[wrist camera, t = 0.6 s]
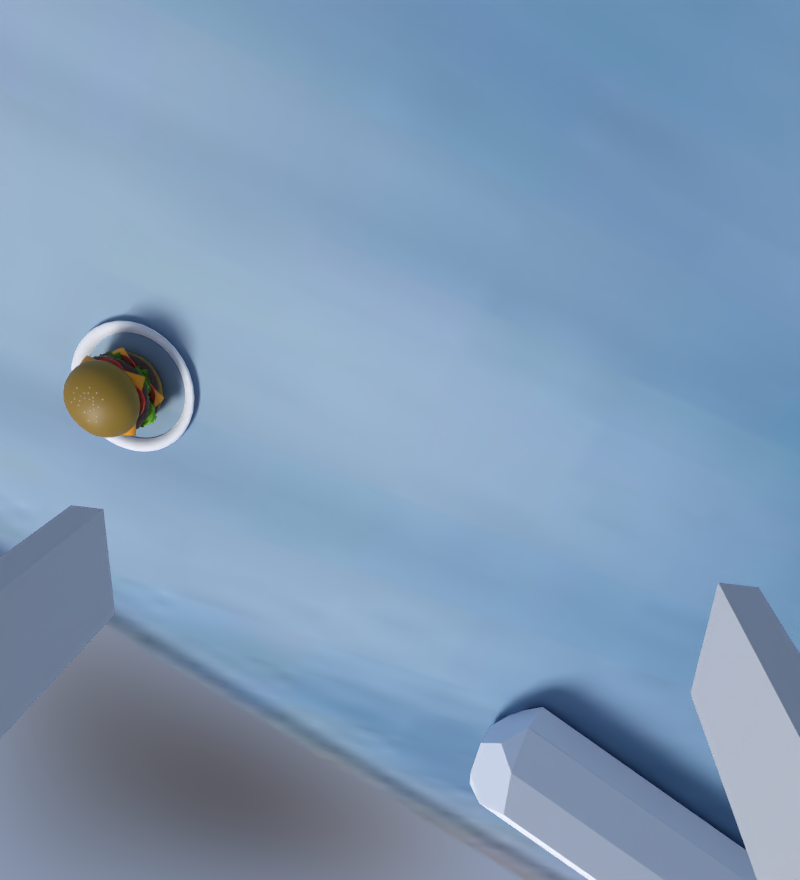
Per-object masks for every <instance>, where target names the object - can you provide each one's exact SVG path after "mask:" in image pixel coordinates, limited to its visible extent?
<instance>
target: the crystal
mask: <svg viewBox="0 0 800 880" xmlns="http://www.w3.org/2000/svg"><path fill="white" fill-rule="evenodd" d="M531 729H532V730H531ZM535 732H536V733H535ZM538 734H539V735H538ZM545 739H546V740H545ZM548 741H549V742H548ZM555 746H556V747H555ZM558 748H559V749H558ZM562 751H563V752H562ZM565 753H566V754H565ZM518 754H519V755H518ZM572 758H573V759H572ZM575 760H576V761H575ZM515 762H516V763H515ZM582 765H583V766H582ZM585 767H586V768H585ZM589 770H590V771H589ZM592 772H593V773H592ZM599 777H600V778H599ZM602 779H603V780H602ZM609 784H610V785H609ZM470 785H471V787H472V789H473V791H474V793H475V795H476V797H477V799H478V801H479V803H480V804H481V805H483V806H484V807H485V808H487V809H488V810H490V811H491V812H493V813H494V814H495V815H497V816H498V817H500V818H501V819H503V820H504V821H506V822H507V823H508V824H510V825H511V826H513V827H514V828H516V829H517V830H518V831H520V832H521V833H523V834H524V835H526V836H527V837H528V838H530V839H531V840H533V841H534V842H536V843H537V844H538V845H540V846H541V847H543V848H544V849H546V850H547V851H548V852H550V853H551V854H553V855H554V856H556V857H557V858H558V859H560V860H561V861H563V862H564V863H566V864H567V865H568V866H570V867H571V868H573V869H574V870H576V871H577V872H578V873H580V874H581V875H583V876H584V877H586V878H587V879H589V880H757V879H756V876H755V873H754V870H753V867H752V864H751V862H750V859H749V856H748V853H747V851H746V850H745V849H743V848H742V847H741V846H739V845H738V844H736V843H735V842H734V841H732V840H731V839H729V838H728V837H726V836H725V835H724V834H722V833H721V832H719V831H718V830H716V829H715V828H714V827H712V826H711V825H709V824H708V823H707V822H705V821H704V820H702V819H701V818H699V817H698V816H697V815H695V814H694V813H692V812H691V811H690V810H688V809H687V808H685V807H684V806H682V805H681V804H680V803H678V802H677V801H675V800H674V799H672V798H671V797H670V796H668V795H667V794H665V793H664V792H663V791H661V790H660V789H658V788H657V787H655V786H654V785H653V784H651V783H650V782H648V781H647V780H645V779H644V778H643V777H641V776H640V775H638V774H637V773H636V772H634V771H633V770H631V769H630V768H628V767H627V766H626V765H624V764H623V763H621V762H620V761H618V760H617V759H616V758H614V757H613V756H611V755H610V754H609V753H607V752H606V751H604V750H603V749H601V748H600V747H599V746H597V745H596V744H594V743H593V742H592V741H590V740H589V739H587V738H586V737H584V736H583V735H582V734H580V733H579V732H577V731H576V730H574V729H573V728H572V727H570V726H569V725H567V724H566V723H565V722H563V721H562V720H560V719H559V718H557V717H556V716H555V715H553V714H552V713H550V712H549V711H547V710H546V709H545V708H543V707H539V708H534V709H528V710H523V711H520V712H517V713H514V714H511V715H509V716H507V717H505V718H503V719H502V720H500V721H498V722H497V723H495V724H493V725H491V726H490V727H489V728H488V730H487V732H486V734H485V736H484V738H483V740H482V742H481V744H480V747H479V750H478V753H477V756H476V759H475V762H474V765H473V767H472V770H471V775H470ZM612 786H613V787H612ZM619 791H620V792H619ZM626 796H627V797H626ZM629 798H630V799H629ZM636 803H637V804H636ZM639 805H640V806H639ZM646 810H647V811H646ZM656 817H657V818H656ZM663 822H664V823H663ZM673 829H674V830H673ZM683 836H684V837H683ZM700 848H701V849H700ZM710 855H711V856H710ZM727 867H728V868H727ZM737 874H738V875H737Z"/></svg>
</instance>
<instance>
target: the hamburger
mask: <svg viewBox="0 0 800 880" xmlns="http://www.w3.org/2000/svg"><path fill="white" fill-rule="evenodd" d="M121 332H129V333H136V334H140V335H143V336H145V337H147V338H150V339H152V340H153V341H155V342H156V343H158V344H159V345H160V346H162V347H163V348H164V349H165V350H166V351H167V352H168V353H169V354H170V356H171V357H172V359H173V360H174V361H175V363H176V364H177V366H178V368H179V371H180V373H181V375H182V378H183V382H184V386H185V406H184V409H183V412H182V415H181V417H180V419H179V421H178V422H177V424H176V425H175V426H174V427H173V428H172V429H171V430H170V431H168V432H167V433H165V434H164V435H161V436H158V437H155V438H147V439H145V438H136V437H132V436H133V435H136V429H138V428H139V427H144V425H148V424H149V423H150V424H153V423H154V421H156V419H155V418H157V416H156V413H157V412H158V410H159V408H160V405H161V403H162V401H163V399H164V397H163V388H162V383H161V380H160V377H159V375H158V373H157V372H156V370H155V368H154V367H153V366H152V365H151V364H150V363H149V362H148V361H147V360H145V359H144V358H142V357H141V356H139V355H136V354H134V353H131V352H126V351H125V349H124V347H122V348H119V349H117V350H115V351H113V352H107V353H105V354H103V355H101V354H100V356H94V357H93V358H92V357H90V354H91V352H92V350H93V349H94V348H95V346H96V345H97V344H98V343H99V342H100V341H101V340H103V339H104V338H105V337H107V336H110V335H112V334H115V333H121ZM194 400H195V398H194V387H193V383H192V379H191V375H190V372H189V370H188V368H187V366H186V364H185V362H184V360H183V358H182V357H181V355H180V354H179V353H178V351H177V350H176V348H175V347H174V346H173V345H172V344H171V343H170V342H169V341H168V340H167V339H166V338H165V337H163V336H162V335H160V334H159V333H158V332H156V331H155V330H153V329H151V328H149V327H147V326H145V325H143V324H139V323H135V322H131V321H118V320H117V321H112V322H106V323H104V324H101V325H99V326H97V327H95V328H94V329H92V330H91V331H90V332H88V333H87V334H86V335H85V336H84V338H83V339H82V340H81V341H80V343H79V345H78V347H77V349H76V351H75V353H74V357H73V361H72V365H71V373H70V375H69V376H68V378H67V380H66V382H65V385H64V402H65V405H66V408H67V410H68V412H69V414H70V415H71V417H72V418H73V419H74V420H75V421H76V423H77V424H79V425H80V426H81V427H82V428H83V429H84V430H86V431H88V432H89V433H91V434H93V435H96V436H100V437H105V438H106V439H108V440H109V441H110V442H112V443H114V444H116V445H118V446H120V447H123V448H127V449H130V450H134V451H144V452H147V451H155V450H159V449H162V448H165V447H167V446H169V445H171V444H172V443H174V442H175V441H177V440H178V439H179V437H180V436H181V435H182V434H183V433H184V432H185V430H186V428H187V427H188V425H189V423H190V421H191V417H192V414H193V410H194Z"/></svg>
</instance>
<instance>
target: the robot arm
mask: <svg viewBox="0 0 800 880" xmlns="http://www.w3.org/2000/svg"><path fill="white" fill-rule="evenodd" d="M114 614H115V609H114V600H113V591H112V582H111V573H110V565H109V556H108V547H107V538H106V529H105V521H104V512H103V509H97V508H89V507H81V506H72V505H71V506H70V507H68V508H67V509H66V510H64V511H63V512H61V513H60V514H59V515H57V516H56V517H55V518H53V519H52V520H51V521H49V522H48V523H46V524H45V525H44V526H42V527H41V528H40V529H38V530H37V531H36V532H34V533H33V534H31V535H30V536H29V537H27V538H26V539H25V540H23V541H22V542H21V543H19V544H18V545H16V546H15V547H14V548H12V549H11V550H10V551H8V552H7V553H5V554H4V555H3V556H1V557H0V738H1V737H2V736H3V735H4V734H5V733H6V732H7V731H8V730H9V729H10V728H11V726H12V725H13V724H14V723H15V722H16V721H17V720H18V719H19V718H20V717H21V716H22V714H23V713H24V712H25V711H26V710H27V709H28V708H29V707H30V706H31V705H32V703H34V701H35V700H36V699H37V698H38V697H39V696H40V695H41V694H42V693H43V692H44V691H45V689H46V688H47V687H48V686H49V685H50V684H51V683H52V682H53V681H54V680H55V679H56V677H57V676H58V675H59V674H60V673H61V672H62V671H63V670H64V669H65V668H66V667H67V665H68V664H69V663H70V662H71V661H72V660H73V659H74V658H75V657H76V656H77V654H79V652H80V651H81V650H82V649H83V648H84V647H85V646H86V645H87V644H88V643H89V642H90V640H91V639H92V638H93V637H94V636H95V635H96V634H97V633H98V632H99V631H100V630H101V628H102V627H103V626H104V625H105V624H106V623H107V622H108V621H109V620H110V619H111V618H112V617H113V615H114ZM691 696H692V699H693V702H694V704H695V707H696V710H697V713H698V716H699V719H700V721H701V724H702V727H703V730H704V733H705V735H706V738H707V741H708V744H709V747H710V749H711V752H712V755H713V758H714V761H715V763H716V766H717V769H718V772H719V775H720V777H721V780H722V783H723V786H724V789H725V791H726V794H727V797H728V800H729V803H730V806H731V808H732V811H733V814H734V817H735V820H736V822H737V825H738V828H739V831H740V834H741V836H742V839H743V842H744V845H745V848H746V850H747V853H748V856H749V859H750V862H751V864H752V867H753V870H754V873H755V876H756V879H757V880H800V654H799V652H798V650H797V649H796V647H795V645H794V644H793V642H792V641H791V639H790V637H789V636H788V634H787V633H786V631H785V629H784V628H783V626H782V624H781V623H780V621H779V620H778V618H777V616H776V615H775V613H774V612H773V610H772V608H771V607H770V605H769V603H768V602H767V600H766V599H765V597H764V595H763V594H762V592H761V591H760V589H759V587H750V586H742V585H733V584H725V583H718V586H717V590H716V594H715V598H714V602H713V606H712V610H711V614H710V618H709V622H708V626H707V630H706V634H705V638H704V642H703V646H702V650H701V654H700V658H699V662H698V666H697V670H696V674H695V678H694V682H693V686H692V690H691Z"/></svg>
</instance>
